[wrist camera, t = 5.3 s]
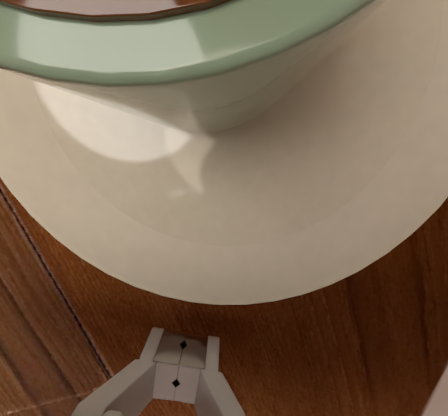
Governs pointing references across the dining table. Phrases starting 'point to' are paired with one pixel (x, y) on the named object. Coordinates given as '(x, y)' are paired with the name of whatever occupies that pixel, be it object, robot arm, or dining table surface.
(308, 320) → the dining table surface
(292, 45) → the teacup
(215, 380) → the robot arm
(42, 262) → the dining table surface
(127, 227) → the plate
